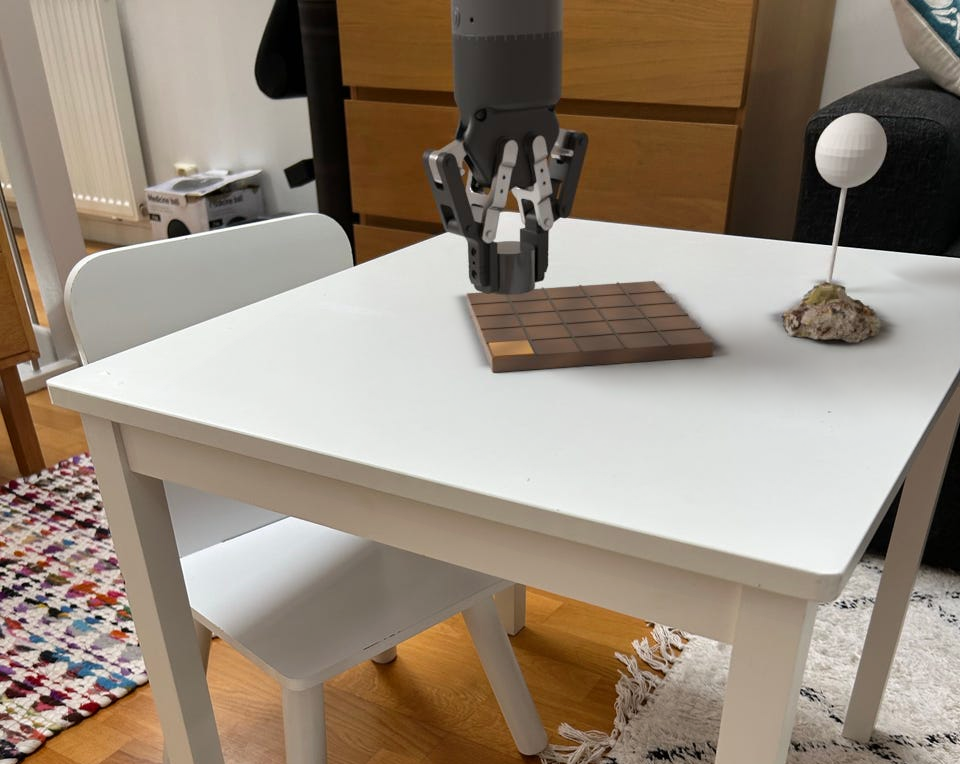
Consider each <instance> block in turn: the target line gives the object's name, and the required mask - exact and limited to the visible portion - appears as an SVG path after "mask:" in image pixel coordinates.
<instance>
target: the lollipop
mask: <svg viewBox="0 0 960 764" xmlns="http://www.w3.org/2000/svg"><path fill="white" fill-rule="evenodd" d="M886 135H887V134H886V132H885V130H884V128H883V126H882V125H881V123H880V122H879V121H878V120H877V119H876V118H874V117H873V116H871V115H868V114H865V113H862V112H851V113H848V114H844V115H842V116H840V117H837V118H836V119H834V120H833V121H832V122H830V123H829V125H827V126H826V128H825V129H824V130H823V131H822V133H821V134H820V136H819V139H818V141H817V143H816V147H815V155H814V156H815V157H814V158H815V159H814V160H815V164H816V165H815V166H816V168H817V171H818V173H819V174H820V176H821V177H822V179H824V180H825V181H826V182H827V183H828V184H830V185H831V186H833V187H837V188H840V189H841V190H840V195H839V202H838V208H837V213H836V214H837V215H836V220H835V227H834V233H833V239H832V246H831V251H830V256H829V262H828V267H827V268H828V270H827V275H826V281H825V282H827V283H830V284H832V282H833V281H832V279H833V274H834V270H835V269H834V268H835V262H836V256H837V251H838V244H839V238H840V233H841V226H842V223H843V222H842V220H843V215H844V210H845V205H846V197H847V193H848V192H847V191H848V188H855V187H858V186H859V185H860V186H861V185H863V184H865V183H866V182H867V181H869V180H870V179H872V177H874V176H875V175H876V173H877V172H878V171H879V169H880V168H881V166H882V165H883V163H884V161H885V158H886V153H887V148H888V141H887V136H886Z"/></svg>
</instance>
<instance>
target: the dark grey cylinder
mask: <svg viewBox="0 0 960 764" xmlns="http://www.w3.org/2000/svg"><path fill="white" fill-rule="evenodd" d="M496 242H497V253H498V290H497V292H495V293H493V294H499V295H516V294H523V293H527V292H530V291H532V290H533V289H536V283H535V246H534V245H532V244H530V243H526V242H520V240H519V241H518V240H504V241H496Z"/></svg>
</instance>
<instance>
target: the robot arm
mask: <svg viewBox="0 0 960 764" xmlns="http://www.w3.org/2000/svg"><path fill="white" fill-rule="evenodd" d="M450 15H451V16H450V18H451V47H452V48H451V49H452V50H451V51H452V72H453V73H452V74H453V77H452V78H453V97H454V98H453V99H454V101H455V104H456V106H457V110H458V114H459V115H458V116H459V118H458V123H457V127H456V130H455V132H454V140H452V141H451V142H450V143H448V144H446V145H445V146H443V147H442V148H440V149H439V150H437V149H431V148H428V149H426V150H425V151H424V152H423V154H422V164H423V168H424V171H425V173H426V177H427V180H428V183H429V186H430V189H431V192H432V195H433V199H434V201H435V205H436V208H437V211H438V215H439V217H440V220H441V223H442V226H443V229H444V231H445V232H447V233H449V234H453V235H457V236H460V237H463V238H465V240H466V243H467V255H468V256H467V260H468V279H469V282H470V284H471V285H473V287H474V289H475V290H476V291H477V292H479V293H481V292H483V293H486V294H491V293H495V292H497V290H498V253H497V242H498V241H495V239H496V237H497V231H498V226H499V220H500V215H501V212H502V211H503V210H504V209H505V208H506V206H507V200H508V196H509V195H508V194H509V191H511V193H512V195H513V196H514V198H515V199H516V201H517V205H518V209H519V216H520V219H521V222H522V225H524V227H521V228H519V242H526V243H530V244H532V245H534V246H535V284H536V283H540V282H543V281H544V280H545V277H546V276H545V274H546V273H547V271H548V268H549V247H550V246H549V244H550V243H549V242H550V241H549V237H550V230H551V229H552V228H553V225H554V223H555V222H557V221H558V220H560V218H561V219H568V218H569V216H570V215H571V213H572V209H573V205H574V203H575V202H574V201H575V198H576V194H577V189H578V185H579V182H580V177H581V173H582V170H583V166H584V161H585V159H586V154H587V149H588V145H589V136H588V134H587V133H586V132H581V131H578V130H574V129H573V130H572V129H566V128H562V127H560V126H561V125H560V122H559V119H558V116H557V112H556V104H557V103H558V102H559V101H560V100H561V97H562V92H563V91H562V90H563V89H562V87H563V41H564V40H563V36H564V35H563V34H564V32H563V31H564V0H450ZM549 158H550V159H549ZM548 159H549V163H548ZM463 163H465V165H466V167H467V168H468V172H467V179H466V186H465V184H464V180H463V176H464V175H465V174H466V169H465V168H464V165H463ZM484 189H485V190H489V192H488V194H487V193H486V192H485V191H484Z"/></svg>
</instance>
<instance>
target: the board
mask: <svg viewBox="0 0 960 764" xmlns="http://www.w3.org/2000/svg"><path fill="white" fill-rule="evenodd" d="M466 306H467V309H468V311H469V314H470V317H471V319H472V322H473V325H474V327H475V330H476V332H477V333H476V334H477V336H478V338H479V341H480V343H481V346H482V349H483V351H484V354H485V355H486V357H485V358H486V359H487V361H488V364H489V367H490V370H491V372H492V373H502V372H504V373H505V372H517V371H530V370H531V371H532V370H545V369H557V368H559V369H560V368H571V367H586V366H587V367H588V366H598V365H599V366H600V365H612V364H626V363H628V364H629V363H640V362H652V361H653V362H654V361H667V360H681V359H682V360H683V359H696V358H709V357H713V351H714V341H713V340H712V338H710V336H708V335H707V334H706V333H705V332H704V331H703V330H702V329H701V328H702V327H701V326H699V325H698V324H697V323H695V321H694V320H693V319H692V318H691V317H690V316H689V314H688V313H687V312H685V311H684V310H683V309H682V308H681V307H680V306H679V304H677V301H674V300H673V299H672V298H671V296H670V295H668V293H666V290H664V289H663V288H662V287H661V286H660V285H659V284H658V283H657V282H656V281H655V280H647V281H633V282H616V283H603V284H587V285H582V284H579V285H573V286H571V285H570V286H559V287H541V288H534V289H533V290H532V291H530V292H527V293H523V294H516V295H499V294H493V293H491V294H486V293H483V292H469V293H466Z"/></svg>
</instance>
